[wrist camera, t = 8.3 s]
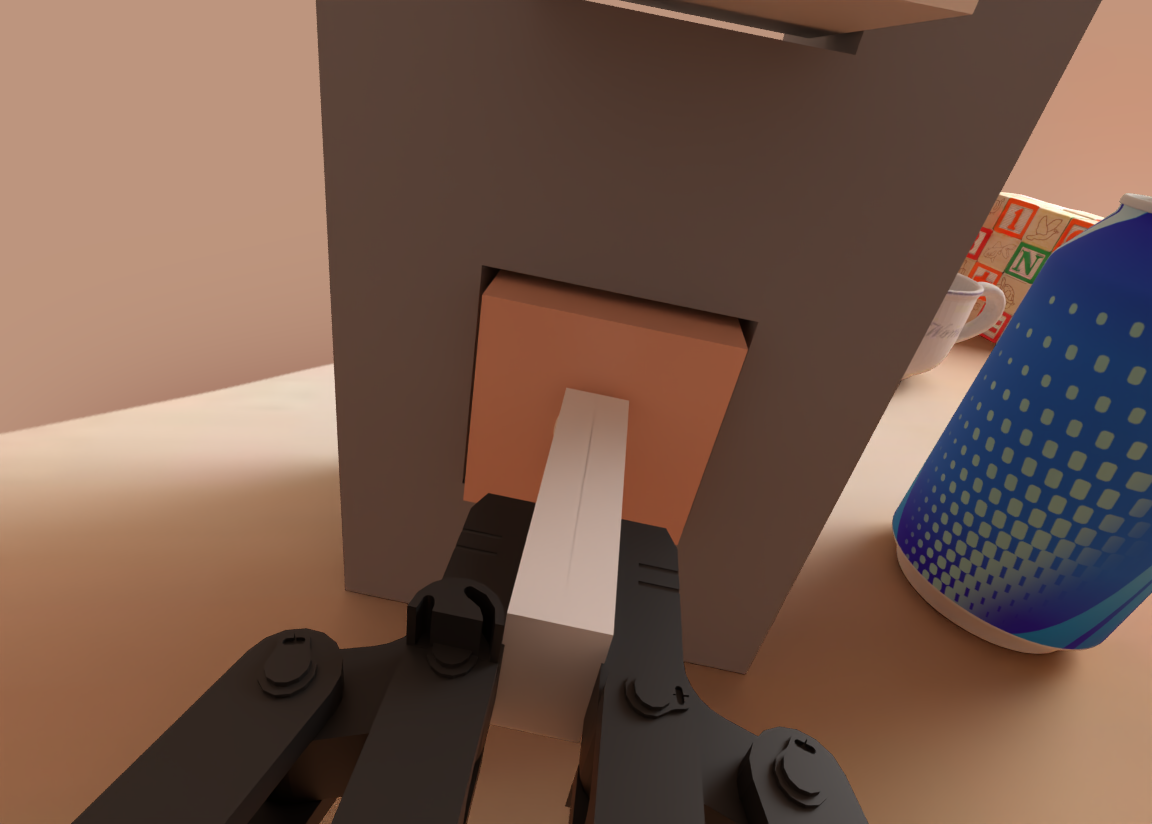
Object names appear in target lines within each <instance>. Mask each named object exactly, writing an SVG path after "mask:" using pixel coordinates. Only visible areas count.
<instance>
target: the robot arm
mask: <svg viewBox="0 0 1152 824" xmlns="http://www.w3.org/2000/svg"><path fill="white" fill-rule="evenodd" d="M628 412H629V400H624V399H619V398H614V397H609V396H605V395H600V394H595V393H590V392H585V391H580V390H576V389H571V388H566V391H565V395H564V399H563V402H562V406H561V410H560V414H559V418H558V421H557V425H556V429H555V433H554V437H553V440H552V444H551V448H550V452H549V456H548V459H547V463H546V467H545V471H544V475H543V478H542V482H541V486H540V490H539V494H538V497H537V501H536V503H535V502H530V501H525V500H520V499H515V498H511V497H506V496H501V495H496V494H491V493H488V494H486V495H485V496H484V497H483V498H482V499H481V500H479V501H478V502H477V503H476V504H475V505H474V506H473V507H471V509H470V511H469V514H468V516H467V519H466V521H465V524H464V526H463V530H462V532H461V534H460V536H459V538H458V541H457V543H456V547H455V549H454V551H453V553H452V556H451V558H450V561H449V563H448V566H447V568H446V570H445V573H444V575H443V578H442V580H439V581H435V582H432V583H430V584H429V585H427V586H426V587H424V588H423V589H421V590H420V591H418V592H417V593H416V595H415V596H414V597H413V599H412V600H411V601H410V603H409V604H408V606H407V635H406V636H404V637H403V638H401V639H398V640H396V641H393V642H391V643H388V644H383V645H377V646H371V647H360V648H349V649H339V647H338V645H337V643H336V642H335V641H334V640H332V639H331V638H330V637H329V636H327V635H326V634H325V633H323V632H319V631H315V630H311V629H307V628H305V629H293V630H285V631H282V632H280V633H277V634H274V635H272V636H269V637H266V638H265V639H263V640H262V641H261V642H259V643H258V644H256V645H255V646H254V647H252V648H251V649H250V650H248V651H247V652H246V653H245V654H244V655H243V656H242V657H241V658H240V659H239V660H238V661H237V662H236V663H235V664H234V665H233V666H232V667H231V668H230V669H229V670H228V671H227V672H226V673H225V674H224V675H223V676H222V677H221V678H220V679H219V680H218V681H216V682H215V683H214V684H213V685H212V686H211V687H210V688H209V689H208V690H207V691H206V692H205V693H204V694H203V695H202V696H201V697H200V698H199V699H198V700H197V701H196V702H195V703H194V704H193V705H192V706H191V707H190V708H189V709H188V710H187V711H186V712H185V713H184V714H183V715H182V716H181V717H180V718H179V719H178V720H177V721H176V722H175V723H174V724H173V725H172V726H171V727H169V728H168V729H167V730H166V731H165V732H164V733H163V734H162V735H161V736H160V737H159V738H158V739H157V740H156V741H155V742H154V743H153V744H152V745H151V746H150V747H149V748H148V749H147V750H146V751H145V752H144V753H143V754H142V755H141V756H140V757H139V758H138V759H137V760H136V761H135V762H134V763H133V764H132V765H131V766H130V767H129V768H128V769H127V770H126V771H125V772H124V773H122V774H121V775H120V776H119V777H118V778H117V779H116V780H115V781H114V782H113V783H112V784H111V785H110V786H109V787H108V788H107V789H106V790H105V791H104V792H103V793H102V794H101V795H100V796H99V797H98V798H97V799H96V800H95V801H94V802H93V803H92V804H91V805H90V806H89V807H88V808H87V809H86V810H85V811H84V812H83V813H82V814H81V815H80V816H79V817H78V818H76V819H75V820H74V821H73V822H72V823H71V824H319V823H320V822H321V820H322V819H323V818H324V816H325V815H326V813H327V812H328V810H329V809H330V807H331V806H332V804H333V803H334V801H335V800H336V798H337V797H342V796H343V797H342V799H341V802H340V804H339V806H338V809H337V811H336V814H335V816H334V818H333V821H332V823H331V824H467V821H468V817H469V813H470V809H471V805H472V800H473V796H474V792H475V788H476V784H477V780H478V775H479V771H480V767H481V763H482V757H483V751H484V745H485V741H486V737H487V733H488V729H489V725H495V726H500V727H504V728H509V729H514V730H519V731H523V732H528V733H533V734H538V735H542V736H547V737H552V738H557V739H561V740H566V741H571V742H576V743H579V742H580V739H581V736H582V742H581V751H580V761H579V765H578V768H577V771H576V774H575V777H574V780H573V783H572V786H571V789H570V792H569V796H568V799H567V802H566V805H565V806H566V807H570V815H569V824H868V822H867V819H866V817H865V815H864V813H863V811H862V809H861V807H860V805H859V803H858V801H857V799H856V796H855V794H854V792H853V790H852V788H851V786H850V784H849V782H848V780H847V778H846V775H845V774H844V772H843V771H842V769H841V768H840V766H839V764H838V763H837V761H836V760H835V758H834V757H833V755H832V754H831V753H830V752H829V751H827V750H826V749H825V748H824V747H823V746H822V745H821V744H820V743H819V742H818V741H817V740H816V739H814V738H812V737H810V736H808V735H806V734H804V733H802V732H801V731H799V730H796V729H790V728H785V727H776V728H772V729H768V730H764V731H763V732H762V733H761V734H760V735H759V736H756V735H754V734H752V733H751V732H749V731H747V730H745V729H743V728H741V727H740V726H738V725H736V724H734V723H732V722H730V721H729V720H727V719H725V718H723V717H722V716H720V715H719V714H717V713H716V712H714V711H713V710H711V709H710V708H709V707H708V706H707V705H706V704H705V703H704V702H703V701H702V700H701V699H700V698H699V697H698V695H697V694H696V692H695V691H694V690H693V688H692V687H691V685H690V683H689V680H688V678H687V676H686V673H685V668H684V662H683V645H682V625H681V606H680V594H679V590H680V587H679V575H678V572H679V568H678V549H677V547H676V546H675V544H674V542H673V540H672V538H671V536H670V535H669V533H668V531H667V529H666V528H662V527H658V526H653V525H648V524H643V523H638V522H634V521H629V520H624V519H621V516H622V501H623V486H624V471H625V456H626V442H627V427H628Z"/></svg>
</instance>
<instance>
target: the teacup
mask: <svg viewBox="0 0 1152 824" xmlns="http://www.w3.org/2000/svg"><path fill="white" fill-rule="evenodd" d="M980 296H985V297H986V305H985V307H984V309H983V311H982V312H981V313H980V314H979V315H978V316H977V317H976V318H975V319H974V320H972V321H970V322H968V323H966V321H967V319H968V317H969V315H970V313H971V311H972V309H973V307H974V305H975V303H976V301H977V299H978V298H979V297H980ZM1005 304H1006V299H1005V295H1004V293H1003V291H1002V290H1001V289H999V288H998V287H997V286H995V285H993V284H990V283H987V282H976V281H974V280H972V279H971V278H969V277H966V276H964V275H962V274H959V273H957V275H956V277H955V279H954V281H953V283H952V285H951V287H950V289H949V290H948V292H947V294H946V296H945V298H944V300H943V302H942V304H941V306H940V308H939V309H938V311H937V313H936V315H935V317H934V319H933V321H932V323H931V325H930V326H929V328H928V330H927V332H926V334H925V336H924V338H923V340H922V342H921V343H920V345H919V347H918V349H917V351H916V353H915V355H914V357H913V359H912V361H911V362H910V364H909V366H908V368H907V370H906V372H905V374H904V376H903V378H902V379H901V380H903V379H907V378H909V377H910V376H912V375H917V374H921V373H924V372H927V371H930V370H931V369H933V368H935V367H936V366H938V365H939V364H940V363H941V362H942V361H943V360H944V358H945V357H946V356H947V355H948V353H949V352H950V350H951V348H952V347H953V345H954V344H955V343H958V342H961V341H964V340H967V339H970V338H973V337H975V336H977V335H979V334H981V333H983V332H985V331H987V330H988V329H990V328H991V327H992V326H994V325H995V324H996V323H997V322H998V320H999V319H1000V317H1001V316H1002V314H1003V311H1004V309H1005ZM965 323H966V324H965Z"/></svg>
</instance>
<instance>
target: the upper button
mask: <svg viewBox="0 0 1152 824" xmlns="http://www.w3.org/2000/svg"><path fill="white" fill-rule="evenodd" d="M621 1H626V2H631V3H636V4H641V5H646V6H651V7H656V8H661V9H666V10H671V11H676V12H681V13H685V14H690V15H696V16H700V17H706V18H710V19H715V20H720V21H725V22H730V23H735V24H740V25H745V26H750V27H755V28H760V29H765V30H770V31H774V32H780V33H784V34H789V35H794V36H799V37H804V38H816V37H822V36H829V35H836V34H843V33H850V32H856V31H863V30H870V29H877V28H883V27H890V26H897V25H904V24H911V23H917V22H924V21H931V20H938V19H944V18H951V17H958V16H965V15H972V14H973V12H974V10H975V8H976V6H977V3H978V1H979V0H621Z"/></svg>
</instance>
